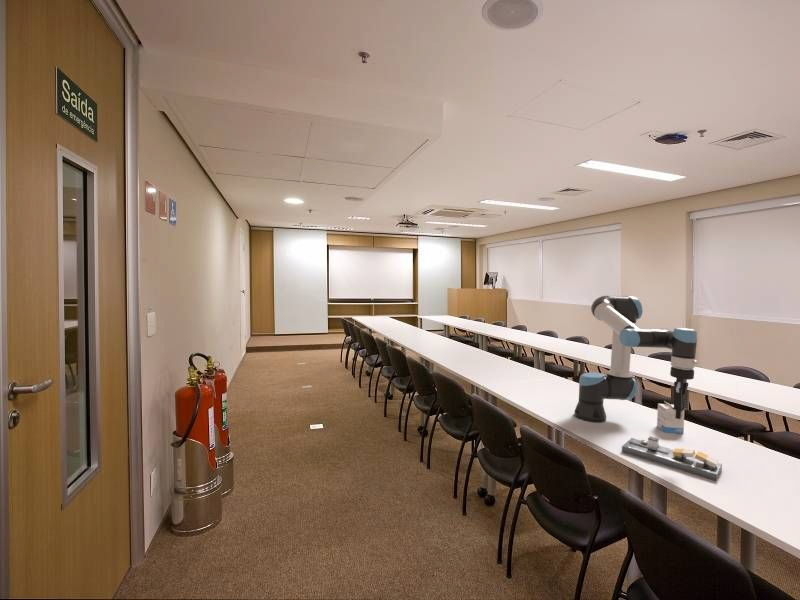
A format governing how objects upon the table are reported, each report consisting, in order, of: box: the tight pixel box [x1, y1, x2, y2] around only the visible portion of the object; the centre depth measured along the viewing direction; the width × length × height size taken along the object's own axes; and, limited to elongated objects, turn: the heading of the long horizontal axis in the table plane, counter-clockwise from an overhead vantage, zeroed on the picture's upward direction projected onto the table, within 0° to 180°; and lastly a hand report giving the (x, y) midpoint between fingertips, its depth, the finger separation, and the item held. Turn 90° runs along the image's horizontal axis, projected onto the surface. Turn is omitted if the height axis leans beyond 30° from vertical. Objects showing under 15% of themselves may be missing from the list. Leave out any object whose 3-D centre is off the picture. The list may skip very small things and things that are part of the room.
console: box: [621, 437, 723, 482], centre depth 154 cm, size 31×13×4 cm, turn 43°
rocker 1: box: [673, 448, 696, 457], centre depth 151 cm, size 6×6×2 cm
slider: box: [647, 436, 660, 450], centre depth 159 cm, size 3×3×4 cm
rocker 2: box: [694, 450, 719, 468], centre depth 146 cm, size 6×6×2 cm
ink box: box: [656, 400, 685, 434], centre depth 187 cm, size 9×8×13 cm
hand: (678, 425), depth 153 cm, fingers closed
